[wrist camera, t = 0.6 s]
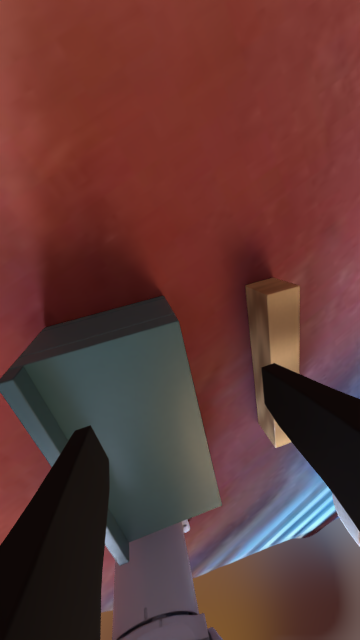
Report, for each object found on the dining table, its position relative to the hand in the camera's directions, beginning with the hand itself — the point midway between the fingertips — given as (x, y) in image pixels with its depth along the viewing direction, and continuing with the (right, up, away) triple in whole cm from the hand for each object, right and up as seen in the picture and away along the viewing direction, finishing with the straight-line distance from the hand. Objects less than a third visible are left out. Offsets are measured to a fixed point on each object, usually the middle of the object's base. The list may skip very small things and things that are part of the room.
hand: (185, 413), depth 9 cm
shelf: (-4, -4, +11) cm, 12 cm away
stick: (+8, 0, +13) cm, 15 cm away
